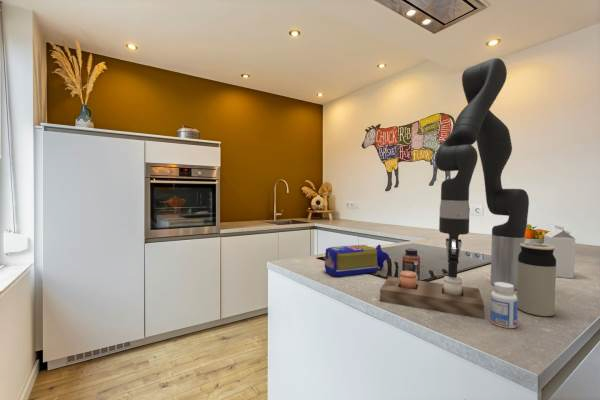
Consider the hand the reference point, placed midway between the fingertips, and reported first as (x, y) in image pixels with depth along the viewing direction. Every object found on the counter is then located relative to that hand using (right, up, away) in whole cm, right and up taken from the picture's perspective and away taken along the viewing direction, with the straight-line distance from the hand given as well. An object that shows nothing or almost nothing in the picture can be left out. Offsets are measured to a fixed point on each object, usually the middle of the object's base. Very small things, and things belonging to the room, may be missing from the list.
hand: (452, 276), depth 83 cm
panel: (-5, -8, +3) cm, 10 cm away
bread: (-22, -7, +33) cm, 40 cm away
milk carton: (+56, -7, +29) cm, 64 cm away
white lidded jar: (0, -5, 0) cm, 5 cm away
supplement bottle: (-3, -7, +22) cm, 24 cm away
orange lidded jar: (-11, -5, +6) cm, 13 cm away
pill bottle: (+6, -9, -12) cm, 16 cm away
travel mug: (+20, -8, -4) cm, 22 cm away
